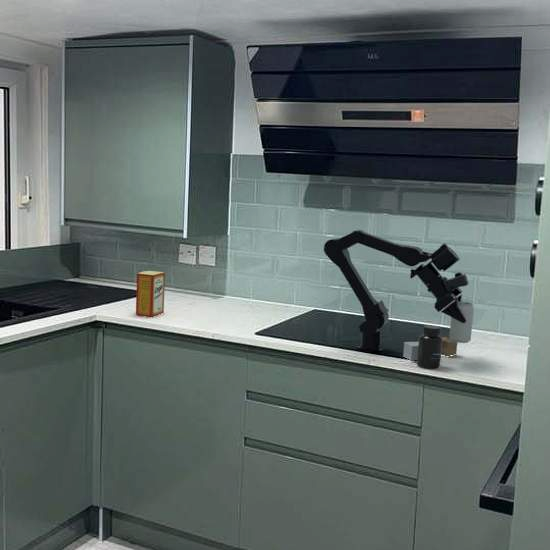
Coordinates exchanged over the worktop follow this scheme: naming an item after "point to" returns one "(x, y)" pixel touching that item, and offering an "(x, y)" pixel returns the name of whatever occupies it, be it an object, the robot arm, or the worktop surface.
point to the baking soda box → (150, 293)
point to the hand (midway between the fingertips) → (466, 320)
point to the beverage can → (462, 324)
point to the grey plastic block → (410, 350)
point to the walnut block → (448, 347)
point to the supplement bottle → (429, 348)
